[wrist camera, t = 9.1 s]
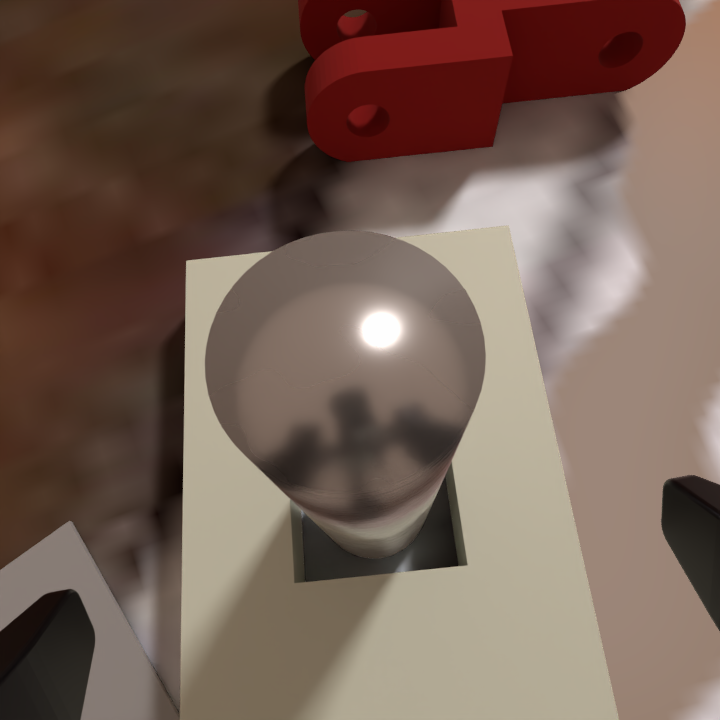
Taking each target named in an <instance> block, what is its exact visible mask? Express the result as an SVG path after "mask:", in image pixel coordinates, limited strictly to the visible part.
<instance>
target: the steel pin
mask: <svg viewBox="0 0 720 720" xmlns="http://www.w3.org/2000/svg"><path fill="white" fill-rule="evenodd" d="M485 362H486V351H485V340H484V335H483V330H482V326H481V322H480V319H479V317H478V314H477V311H476V309H475V306H474V304H473V303H472V301H471V299H470V297H469V295H468V294H467V292H466V290H465V289H464V288H463V286H462V285H461V284H460V282H459V281H458V280H457V278H456V277H455V276H454V275H453V274H452V273H451V272H450V271H449V270H448V269H447V268H446V267H445V266H444V265H443V264H441V263H440V262H439V261H438V260H436V259H435V258H434V257H433V256H431V255H429V254H428V253H426V252H425V251H423V250H421V249H420V248H418V247H416V246H414V245H412V244H409V243H407V242H405V241H403V240H400V239H397V238H394V237H391V236H387V235H383V234H378V233H373V232H364V231H334V232H327V233H320V234H316V235H312V236H308V237H304V238H301V239H299V240H296V241H293V242H291V243H288V244H286V245H284V246H282V247H280V248H278V249H276V250H274V251H272V252H271V253H269V254H268V255H266V256H265V257H263V258H262V259H260V260H259V261H258V262H257V263H255V264H254V265H253V266H252V267H251V268H249V269H248V270H247V271H246V272H245V273H244V274H243V275H242V276H241V277H240V278H239V280H238V281H237V282H236V283H235V284H234V285H233V287H232V288H231V289H230V291H229V292H228V293H227V295H226V296H225V298H224V299H223V301H222V303H221V305H220V307H219V309H218V311H217V312H216V315H215V317H214V320H213V323H212V325H211V328H210V332H209V336H208V340H207V344H206V354H205V379H206V384H207V390H208V395H209V398H210V401H211V404H212V407H213V410H214V413H215V415H216V417H217V419H218V421H219V423H220V424H221V426H222V428H223V430H224V431H225V432H226V434H227V435H228V437H229V438H230V440H231V441H232V442H233V443H234V444H235V446H236V447H237V448H238V449H239V450H240V451H241V452H242V453H243V454H244V455H245V456H246V457H247V458H248V459H249V460H250V461H251V462H252V463H253V464H254V465H255V466H256V467H257V468H258V469H259V470H261V471H262V472H263V473H264V474H265V475H266V476H267V477H268V478H269V479H270V480H271V481H272V482H273V483H274V484H275V485H276V486H277V487H278V488H279V489H280V490H281V491H282V492H283V493H284V494H285V495H287V496H288V497H289V498H290V499H291V500H292V501H293V502H294V503H295V504H296V505H297V506H298V507H299V508H300V509H301V510H302V511H303V512H304V513H305V514H306V515H307V516H308V517H309V518H310V519H312V520H313V521H314V522H315V523H316V524H317V525H318V526H319V527H320V528H321V529H322V530H323V531H324V532H325V533H326V534H327V535H328V536H329V537H330V538H331V539H332V540H333V541H334V542H335V543H336V544H338V545H339V546H340V547H341V548H342V549H344V550H346V551H347V552H349V553H351V554H353V555H356V556H359V557H363V558H370V559H376V558H384V557H388V556H392V555H394V554H396V553H398V552H400V551H402V550H403V549H405V548H406V547H407V546H408V545H410V544H411V543H412V542H413V541H414V539H415V538H416V537H417V535H418V534H419V533H420V531H421V529H422V527H423V525H424V522H425V520H426V518H427V516H428V513H429V511H430V509H431V506H432V504H433V502H434V500H435V497H436V495H437V493H438V491H439V488H440V486H441V484H442V482H443V479H444V477H445V475H446V473H447V470H448V468H449V466H450V464H451V461H452V459H453V457H454V454H455V452H456V450H457V448H458V445H459V443H460V441H461V439H462V436H463V434H464V432H465V430H466V427H467V425H468V423H469V421H470V418H471V416H472V414H473V412H474V409H475V407H476V404H477V401H478V398H479V396H480V393H481V390H482V385H483V380H484V375H485Z"/></svg>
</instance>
